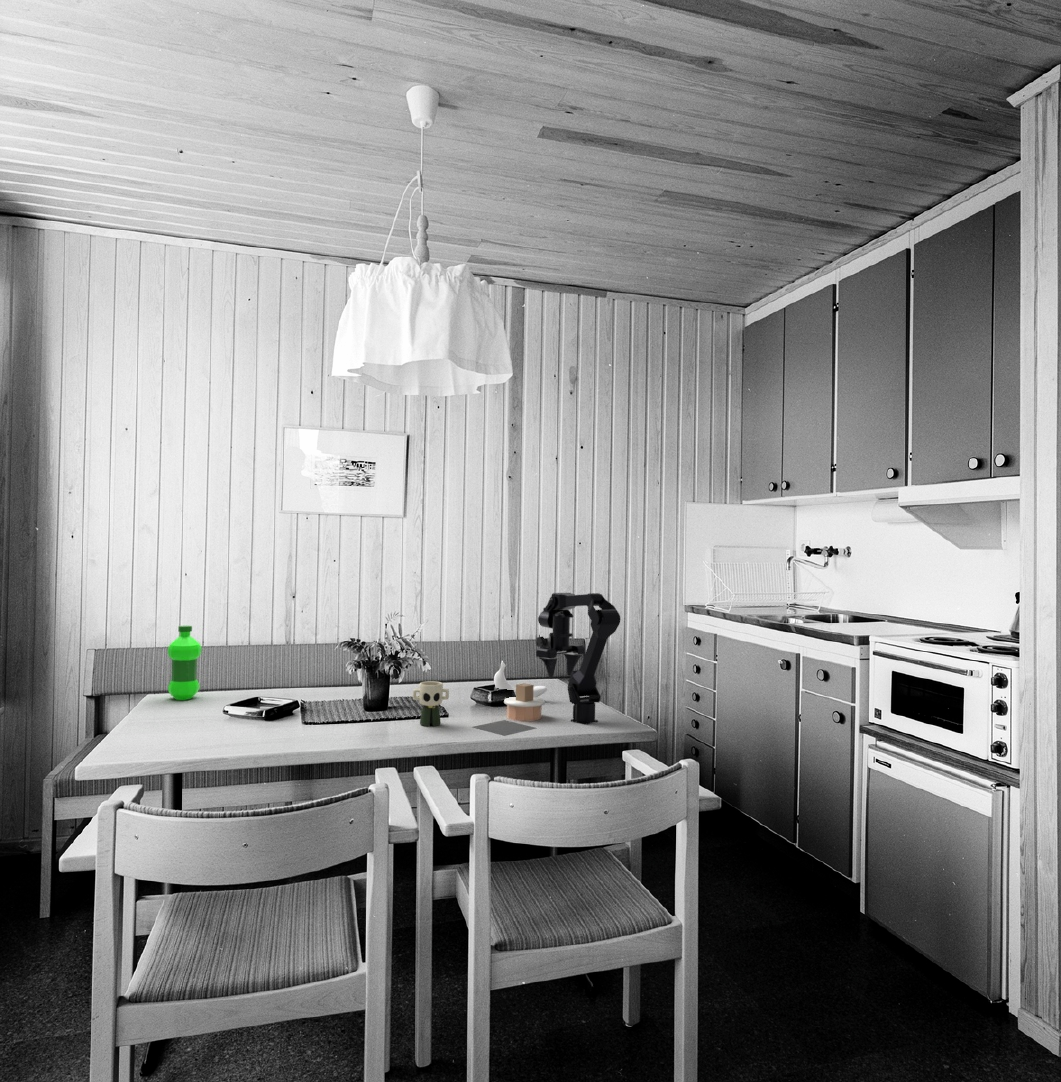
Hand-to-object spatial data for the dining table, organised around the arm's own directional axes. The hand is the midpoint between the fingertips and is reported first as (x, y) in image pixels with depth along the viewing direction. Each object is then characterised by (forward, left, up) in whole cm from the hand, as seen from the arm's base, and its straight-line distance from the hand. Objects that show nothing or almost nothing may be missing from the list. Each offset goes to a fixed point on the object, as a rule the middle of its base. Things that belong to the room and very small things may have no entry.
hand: (560, 676), depth 259 cm
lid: (+2, +15, -7) cm, 17 cm away
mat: (-4, +30, -12) cm, 33 cm away
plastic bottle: (+101, +82, -12) cm, 131 cm away
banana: (+22, -4, -12) cm, 25 cm away
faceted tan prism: (+2, +15, -12) cm, 19 cm away
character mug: (+14, +44, -12) cm, 48 cm away
